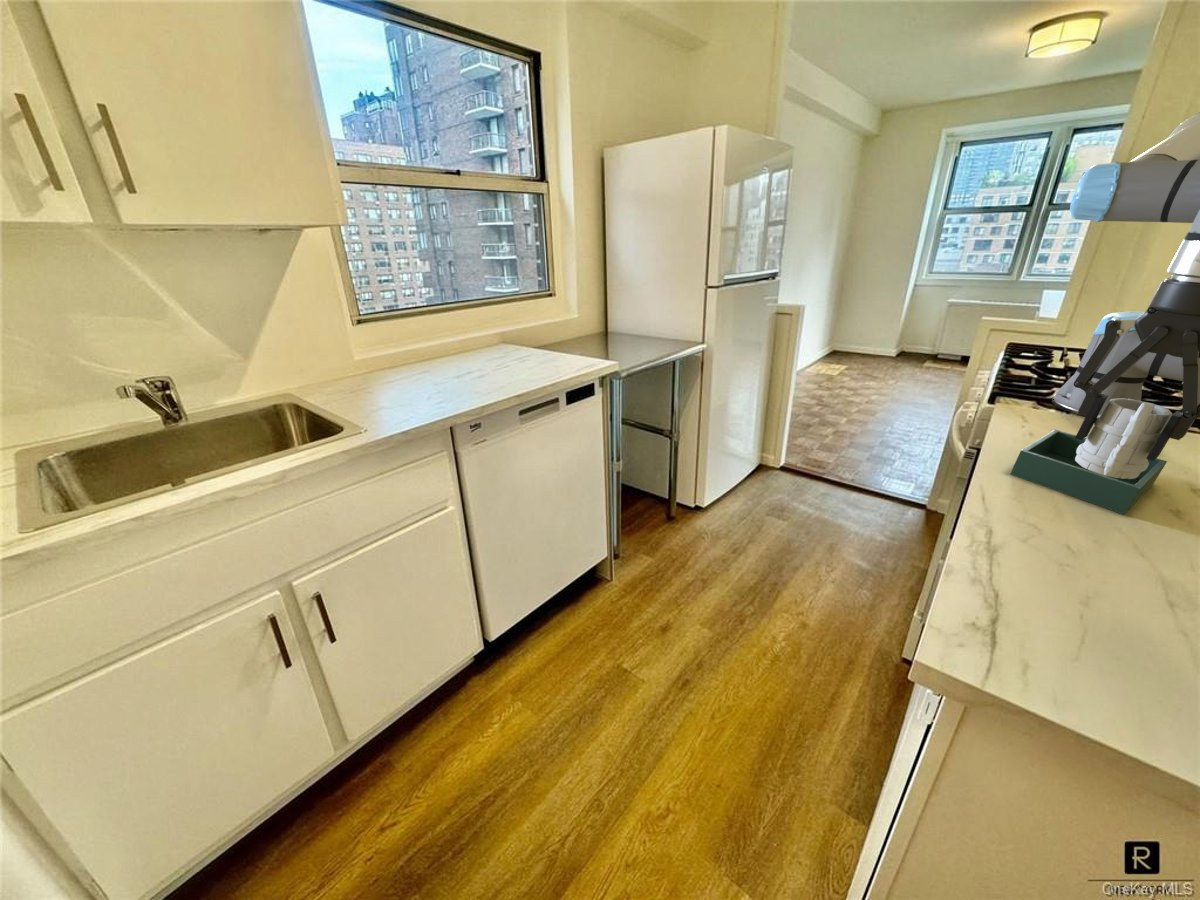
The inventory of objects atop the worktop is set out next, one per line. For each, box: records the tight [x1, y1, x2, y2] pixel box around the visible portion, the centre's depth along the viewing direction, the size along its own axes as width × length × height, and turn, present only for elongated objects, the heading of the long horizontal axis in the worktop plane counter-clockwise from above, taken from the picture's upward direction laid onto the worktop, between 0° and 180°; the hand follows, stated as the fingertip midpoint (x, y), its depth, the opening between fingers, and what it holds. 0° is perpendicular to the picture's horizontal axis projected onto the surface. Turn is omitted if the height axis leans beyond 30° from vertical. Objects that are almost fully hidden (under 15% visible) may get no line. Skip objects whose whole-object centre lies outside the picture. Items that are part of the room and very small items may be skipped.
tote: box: [1009, 429, 1168, 516], centre depth 86 cm, size 17×16×5 cm
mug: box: [1075, 398, 1173, 479], centre depth 68 cm, size 8×12×12 cm, turn 135°
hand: (1115, 446), depth 69 cm, fingers closed on mug, 7 cm apart
